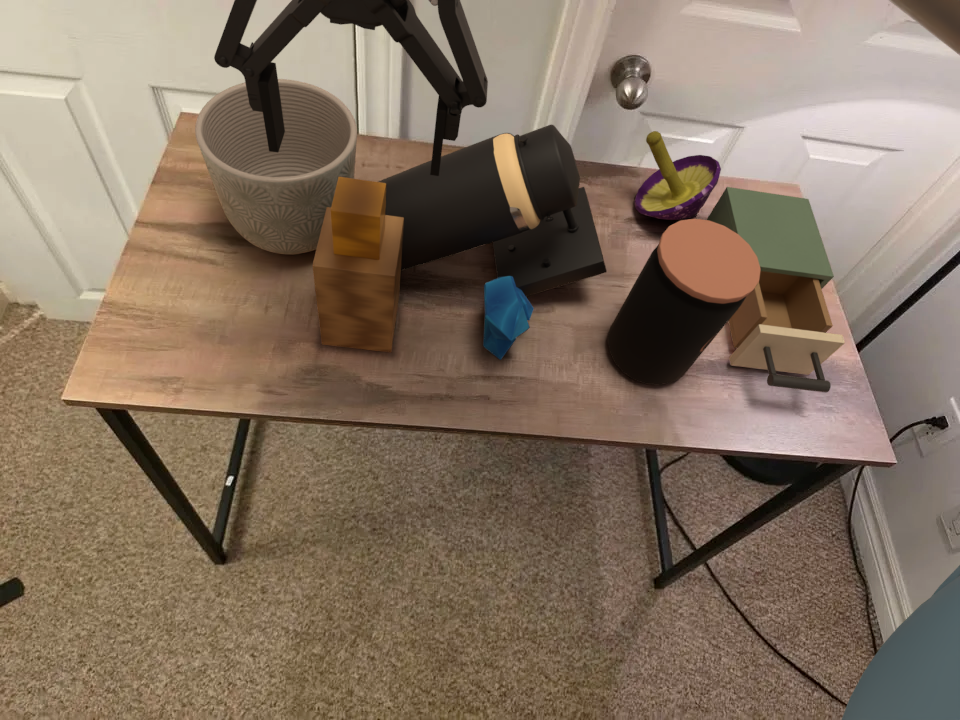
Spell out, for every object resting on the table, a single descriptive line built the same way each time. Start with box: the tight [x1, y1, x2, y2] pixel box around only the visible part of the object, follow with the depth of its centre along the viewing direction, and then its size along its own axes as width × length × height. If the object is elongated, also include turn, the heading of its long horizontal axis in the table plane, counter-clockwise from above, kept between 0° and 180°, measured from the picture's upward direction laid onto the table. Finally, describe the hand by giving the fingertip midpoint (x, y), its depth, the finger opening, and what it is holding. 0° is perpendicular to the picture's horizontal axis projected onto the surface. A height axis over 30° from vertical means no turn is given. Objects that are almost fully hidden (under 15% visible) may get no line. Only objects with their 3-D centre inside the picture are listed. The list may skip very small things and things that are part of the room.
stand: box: [312, 207, 404, 353], centre depth 70 cm, size 8×8×14 cm
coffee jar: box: [607, 218, 761, 386], centre depth 72 cm, size 11×11×18 cm
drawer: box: [728, 271, 846, 393], centre depth 78 cm, size 18×10×7 cm, turn 177°
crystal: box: [482, 276, 535, 361], centre depth 73 cm, size 7×9×12 cm
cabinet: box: [706, 186, 835, 290], centre depth 85 cm, size 14×12×9 cm
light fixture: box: [377, 124, 607, 297], centre depth 76 cm, size 13×18×26 cm
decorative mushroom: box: [633, 130, 722, 221], centre depth 89 cm, size 12×12×15 cm
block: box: [330, 177, 386, 260], centre depth 61 cm, size 4×4×6 cm
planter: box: [194, 78, 358, 255], centre depth 75 cm, size 17×17×15 cm
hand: (357, 153), depth 55 cm, fingers open, 13 cm apart
